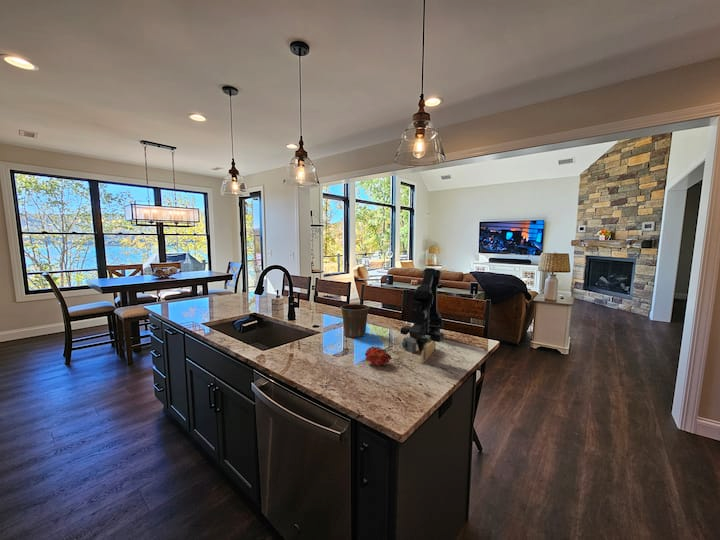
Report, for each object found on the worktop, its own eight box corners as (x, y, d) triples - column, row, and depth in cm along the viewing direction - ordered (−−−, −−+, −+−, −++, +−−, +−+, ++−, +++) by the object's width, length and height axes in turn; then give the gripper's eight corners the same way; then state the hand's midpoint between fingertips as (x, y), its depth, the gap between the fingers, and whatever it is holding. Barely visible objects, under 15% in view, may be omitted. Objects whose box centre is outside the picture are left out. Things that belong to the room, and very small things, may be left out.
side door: (433, 349, 145) (433, 338, 145) (435, 349, 145) (436, 339, 144) (421, 362, 129) (421, 350, 129) (423, 362, 129) (424, 351, 128)
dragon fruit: (363, 365, 130) (389, 373, 126) (359, 360, 123) (386, 368, 119) (369, 346, 134) (394, 354, 130) (366, 340, 127) (392, 348, 123)
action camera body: (423, 344, 153) (423, 334, 152) (432, 349, 145) (433, 338, 145) (401, 348, 147) (401, 337, 147) (410, 353, 140) (410, 342, 139)
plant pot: (343, 329, 177) (343, 303, 176) (370, 331, 175) (370, 304, 174) (337, 338, 161) (337, 309, 160) (367, 339, 159) (367, 310, 158)
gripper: (394, 317, 130) (393, 352, 131) (435, 325, 119) (433, 362, 120) (406, 313, 139) (405, 345, 140) (445, 320, 128) (443, 355, 129)
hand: (420, 352), depth 132 cm, fingers closed
